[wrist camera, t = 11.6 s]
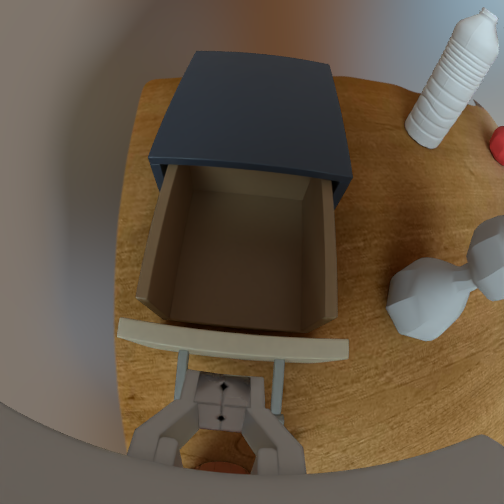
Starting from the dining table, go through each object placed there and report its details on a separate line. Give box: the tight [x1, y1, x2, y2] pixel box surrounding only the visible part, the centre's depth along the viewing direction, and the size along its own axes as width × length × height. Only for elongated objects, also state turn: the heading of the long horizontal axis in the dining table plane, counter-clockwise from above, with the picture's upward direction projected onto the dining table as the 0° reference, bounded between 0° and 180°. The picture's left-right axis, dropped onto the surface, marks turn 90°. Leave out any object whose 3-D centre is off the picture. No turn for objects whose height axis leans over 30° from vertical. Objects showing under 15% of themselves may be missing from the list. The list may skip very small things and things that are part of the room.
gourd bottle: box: [386, 215, 504, 341], centre depth 16 cm, size 8×8×20 cm
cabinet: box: [148, 51, 353, 210], centre depth 27 cm, size 17×15×10 cm
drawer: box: [117, 164, 349, 426], centre depth 21 cm, size 20×13×8 cm, turn 176°
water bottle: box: [405, 8, 499, 149], centre depth 25 cm, size 9×6×25 cm
